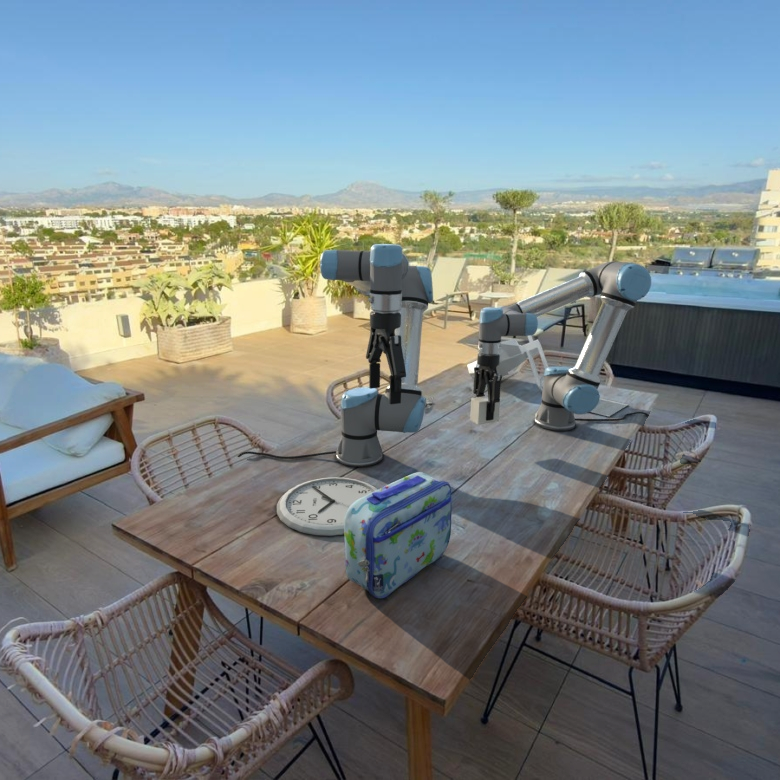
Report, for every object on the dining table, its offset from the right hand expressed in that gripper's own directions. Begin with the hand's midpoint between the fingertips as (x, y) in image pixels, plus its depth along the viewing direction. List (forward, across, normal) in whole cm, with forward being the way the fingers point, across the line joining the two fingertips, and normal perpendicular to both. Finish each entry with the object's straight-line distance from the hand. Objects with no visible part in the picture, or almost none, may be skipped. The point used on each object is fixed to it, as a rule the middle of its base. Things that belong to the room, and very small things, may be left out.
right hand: (484, 417), depth 186 cm
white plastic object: (+9, -53, +50) cm, 73 cm away
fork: (+9, -41, -1) cm, 42 cm away
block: (+1, 0, 0) cm, 1 cm away
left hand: (-24, +30, -53) cm, 65 cm away
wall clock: (+8, +22, -65) cm, 69 cm away
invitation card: (+10, -11, +69) cm, 71 cm away
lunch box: (+8, +55, -61) cm, 83 cm away
